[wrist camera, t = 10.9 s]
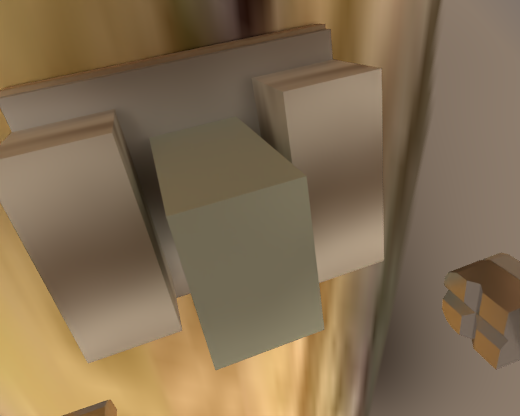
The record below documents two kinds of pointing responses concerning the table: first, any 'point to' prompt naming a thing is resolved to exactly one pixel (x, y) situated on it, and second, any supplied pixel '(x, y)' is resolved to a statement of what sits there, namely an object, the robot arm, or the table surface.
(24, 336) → the table surface
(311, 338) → the table surface
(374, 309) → the table surface
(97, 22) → the table surface
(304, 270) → the block
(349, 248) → the rail board
